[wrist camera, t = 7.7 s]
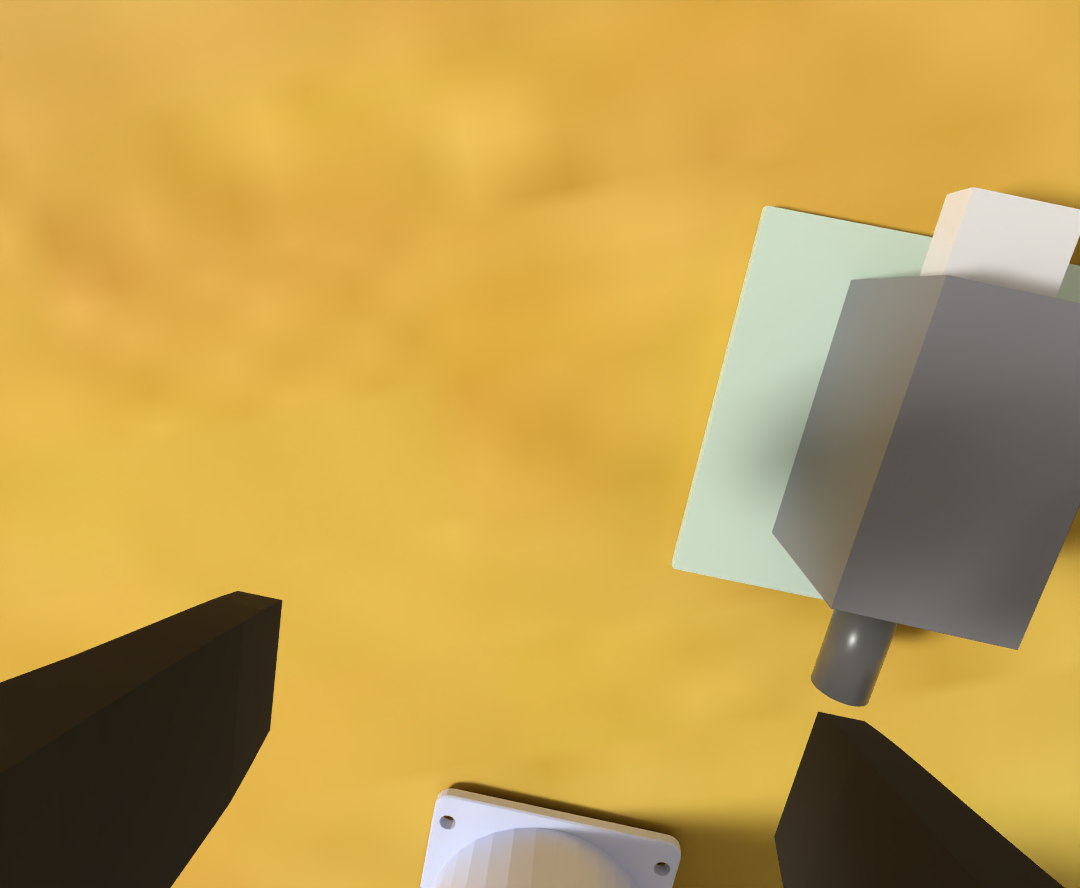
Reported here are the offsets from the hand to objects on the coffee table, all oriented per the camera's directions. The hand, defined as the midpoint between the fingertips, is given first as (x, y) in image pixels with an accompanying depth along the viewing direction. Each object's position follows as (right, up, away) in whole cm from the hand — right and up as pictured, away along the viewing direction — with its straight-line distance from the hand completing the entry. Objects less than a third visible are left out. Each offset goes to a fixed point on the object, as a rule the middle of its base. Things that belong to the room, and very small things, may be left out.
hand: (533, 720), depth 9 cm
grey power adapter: (+9, +4, +9) cm, 13 cm away
